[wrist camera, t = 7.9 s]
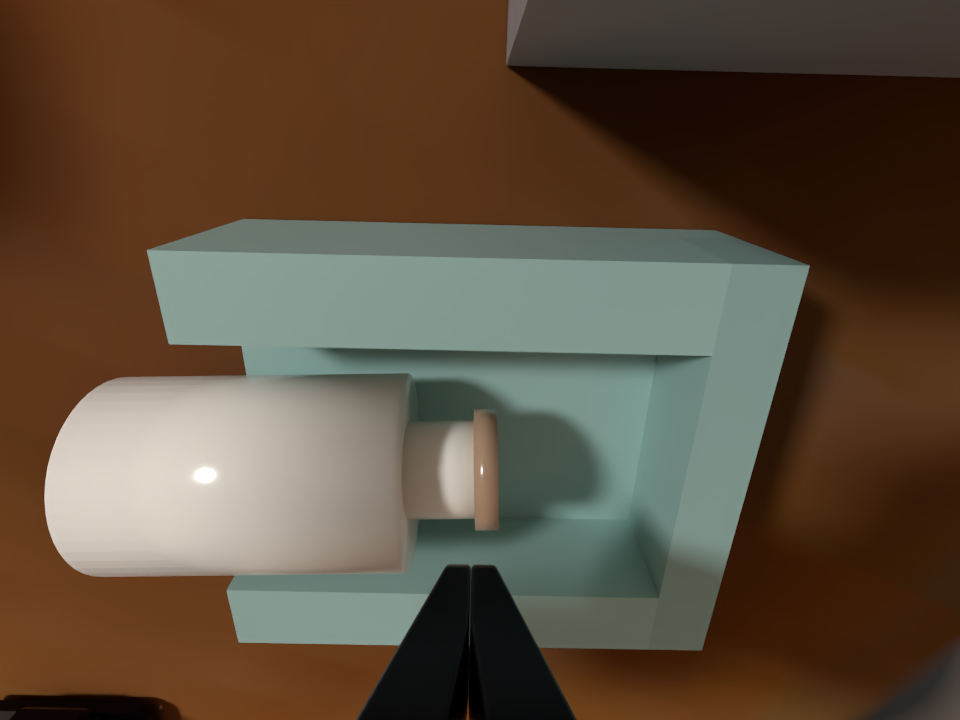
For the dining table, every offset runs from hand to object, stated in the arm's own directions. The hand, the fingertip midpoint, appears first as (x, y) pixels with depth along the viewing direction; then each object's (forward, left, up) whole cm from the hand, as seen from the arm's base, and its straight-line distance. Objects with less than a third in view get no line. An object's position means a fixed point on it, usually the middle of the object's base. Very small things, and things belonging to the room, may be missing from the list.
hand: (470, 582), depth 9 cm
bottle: (0, +8, -3) cm, 9 cm away
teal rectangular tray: (0, 0, -7) cm, 7 cm away
